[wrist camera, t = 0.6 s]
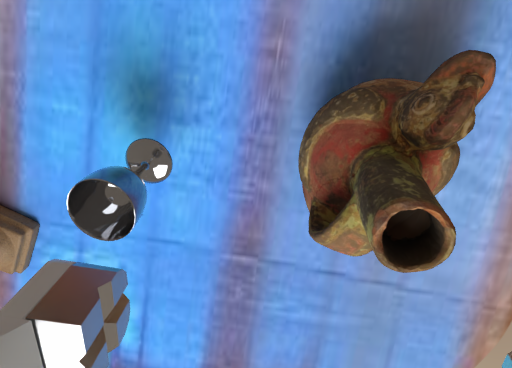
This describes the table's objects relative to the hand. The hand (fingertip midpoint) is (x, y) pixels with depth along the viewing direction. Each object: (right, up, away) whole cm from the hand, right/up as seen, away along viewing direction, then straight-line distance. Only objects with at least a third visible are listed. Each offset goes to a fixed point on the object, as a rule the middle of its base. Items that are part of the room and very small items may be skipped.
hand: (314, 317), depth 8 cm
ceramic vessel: (+14, +10, +42) cm, 46 cm away
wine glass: (-17, +6, +48) cm, 51 cm away
